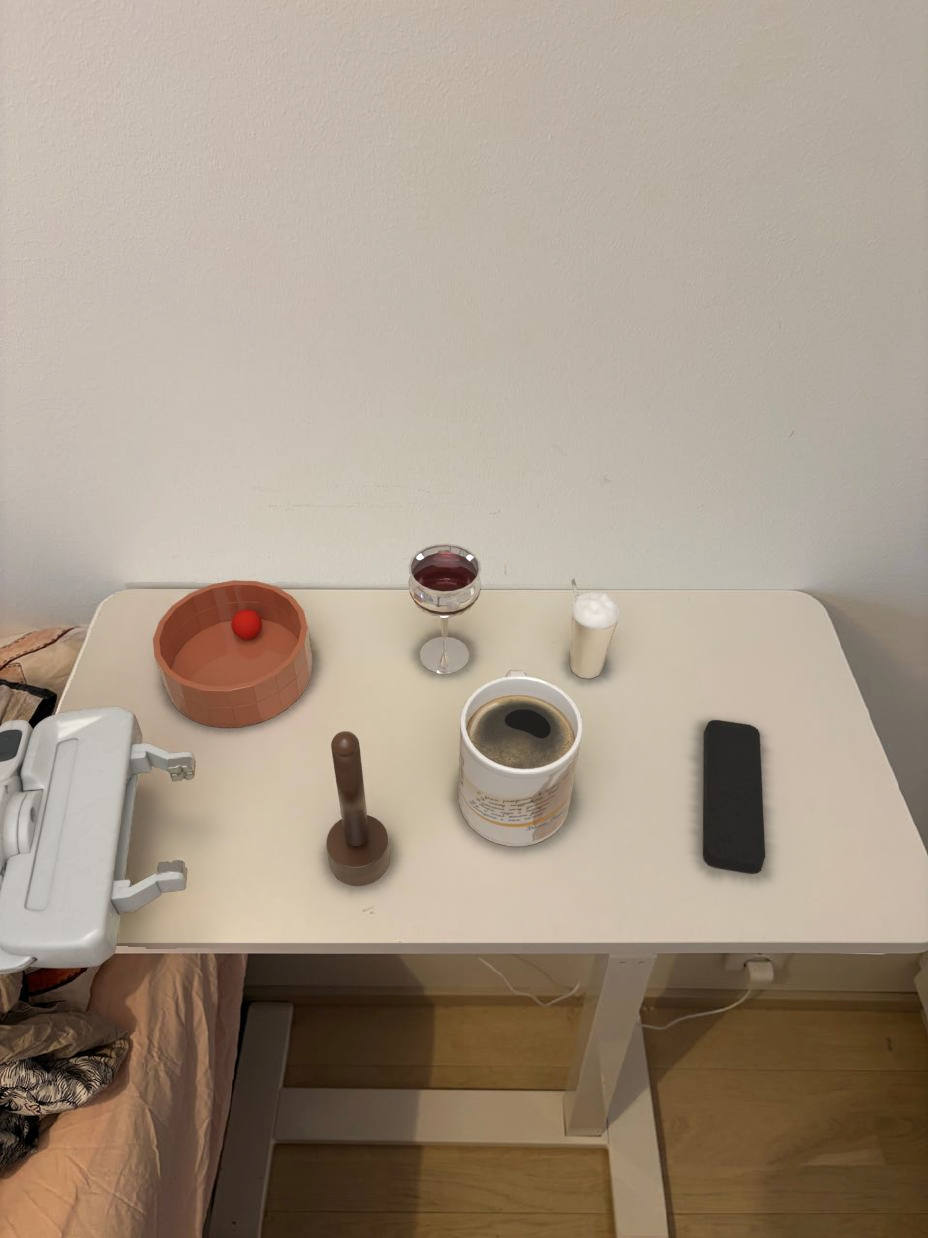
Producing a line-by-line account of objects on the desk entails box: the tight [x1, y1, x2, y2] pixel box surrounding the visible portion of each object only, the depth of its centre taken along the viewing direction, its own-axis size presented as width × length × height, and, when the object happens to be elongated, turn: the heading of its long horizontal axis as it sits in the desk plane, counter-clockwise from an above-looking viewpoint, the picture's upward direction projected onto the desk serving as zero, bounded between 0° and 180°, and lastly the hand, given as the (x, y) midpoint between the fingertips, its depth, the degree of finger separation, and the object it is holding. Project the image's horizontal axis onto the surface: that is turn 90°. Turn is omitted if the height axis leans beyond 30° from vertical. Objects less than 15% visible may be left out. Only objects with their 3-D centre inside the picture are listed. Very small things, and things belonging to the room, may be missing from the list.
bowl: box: [152, 579, 313, 729], centre depth 90 cm, size 14×14×6 cm
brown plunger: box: [326, 730, 391, 887], centre depth 72 cm, size 5×5×17 cm
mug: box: [458, 669, 584, 847], centre depth 79 cm, size 10×12×11 cm
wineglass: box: [408, 543, 482, 675], centre depth 90 cm, size 7×7×12 cm
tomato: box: [231, 610, 262, 639], centre depth 93 cm, size 3×3×3 cm
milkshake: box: [569, 578, 621, 680], centre depth 90 cm, size 4×5×10 cm
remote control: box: [702, 719, 766, 874], centre depth 82 cm, size 5×2×15 cm
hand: (190, 817), depth 69 cm, fingers open, 8 cm apart
